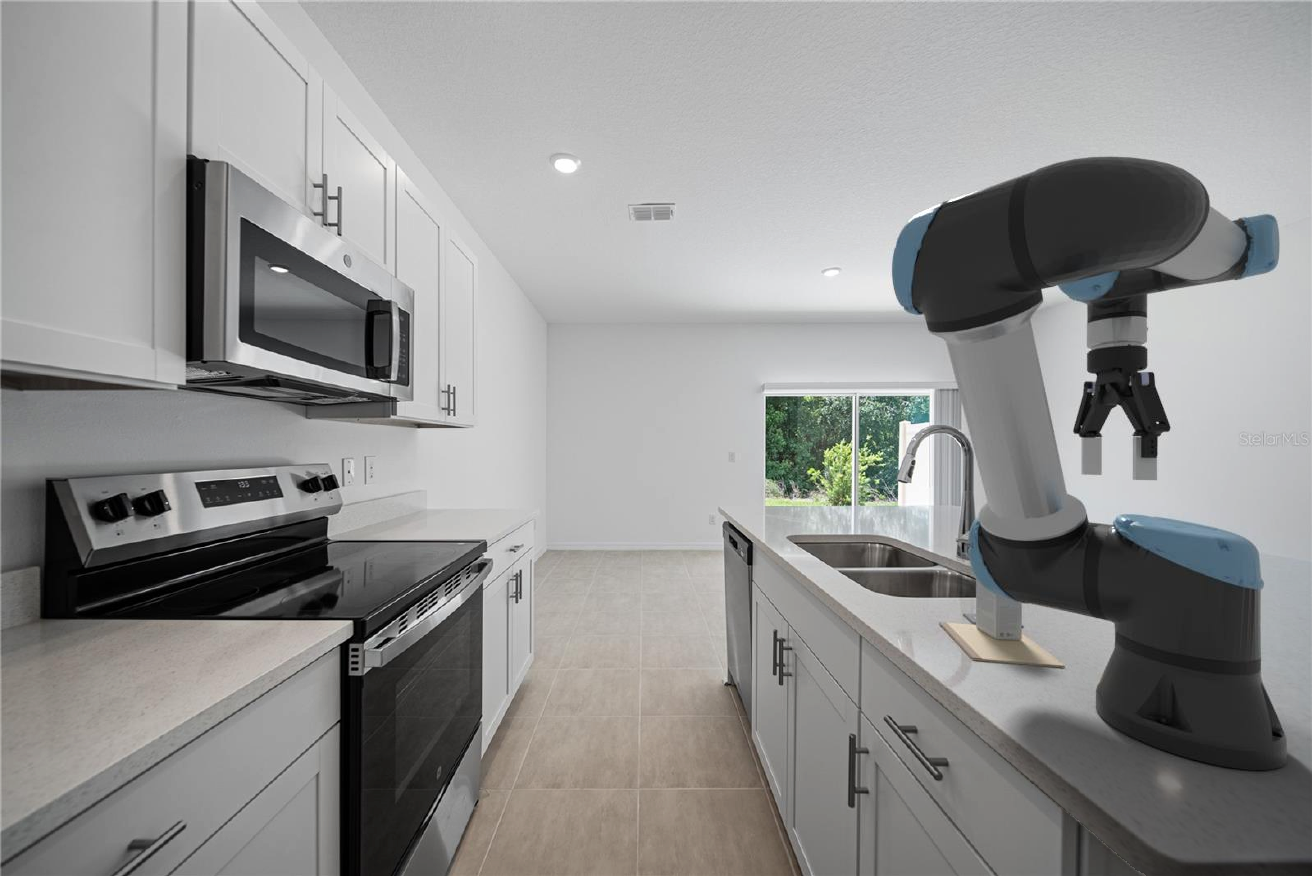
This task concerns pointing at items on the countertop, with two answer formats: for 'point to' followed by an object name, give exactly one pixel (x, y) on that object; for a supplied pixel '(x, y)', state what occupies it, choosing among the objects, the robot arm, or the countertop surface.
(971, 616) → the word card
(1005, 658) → the notepad
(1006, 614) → the skincare box
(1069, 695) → the countertop surface
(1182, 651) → the robot arm
